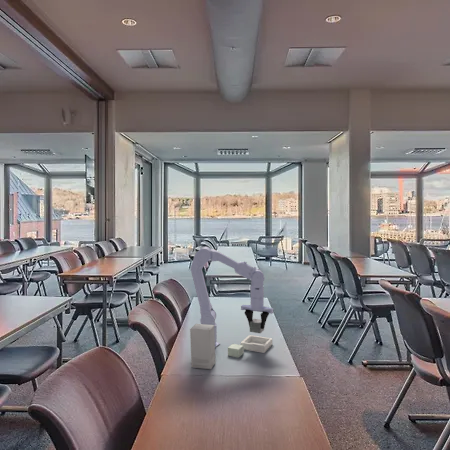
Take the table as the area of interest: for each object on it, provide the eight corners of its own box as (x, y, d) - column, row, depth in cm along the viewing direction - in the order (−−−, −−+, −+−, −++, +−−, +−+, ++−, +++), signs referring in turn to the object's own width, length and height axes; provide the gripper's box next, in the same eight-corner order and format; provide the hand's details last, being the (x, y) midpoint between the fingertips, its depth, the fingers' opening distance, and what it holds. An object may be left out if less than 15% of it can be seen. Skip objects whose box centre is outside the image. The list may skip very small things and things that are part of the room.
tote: (264, 353, 160) (264, 346, 160) (240, 348, 165) (240, 342, 164) (272, 344, 170) (272, 338, 170) (249, 340, 175) (249, 334, 174)
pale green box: (238, 357, 155) (238, 349, 155) (227, 355, 157) (227, 347, 157) (243, 353, 160) (243, 345, 160) (232, 351, 162) (232, 343, 162)
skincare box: (215, 363, 149) (215, 324, 148) (210, 370, 143) (210, 329, 142) (195, 361, 151) (195, 322, 151) (189, 367, 145) (189, 327, 144)
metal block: (260, 333, 164) (260, 323, 164) (249, 331, 166) (249, 321, 166) (264, 330, 168) (264, 320, 168) (253, 328, 170) (253, 318, 170)
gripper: (275, 296, 167) (275, 327, 167) (245, 293, 173) (245, 322, 174) (270, 300, 160) (270, 331, 161) (239, 296, 167) (239, 327, 167)
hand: (256, 327), depth 167 cm, fingers closed on metal block, 5 cm apart
